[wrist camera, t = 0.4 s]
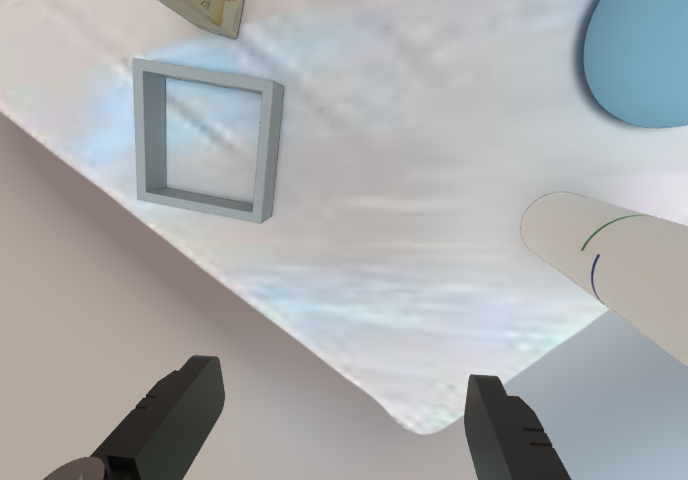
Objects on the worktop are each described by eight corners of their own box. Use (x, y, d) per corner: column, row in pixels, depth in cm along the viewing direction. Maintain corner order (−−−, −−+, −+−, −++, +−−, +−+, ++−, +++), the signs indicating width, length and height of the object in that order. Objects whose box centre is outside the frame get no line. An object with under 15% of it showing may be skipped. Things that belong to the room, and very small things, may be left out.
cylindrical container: (514, 253, 36) (768, 473, 12) (528, 189, 34) (870, 306, 10) (581, 259, 35) (988, 502, 12) (601, 194, 33) (1146, 331, 10)
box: (156, 65, 34) (132, 57, 31) (284, 87, 34) (273, 81, 30) (158, 194, 39) (137, 199, 35) (271, 216, 38) (260, 223, 35)
